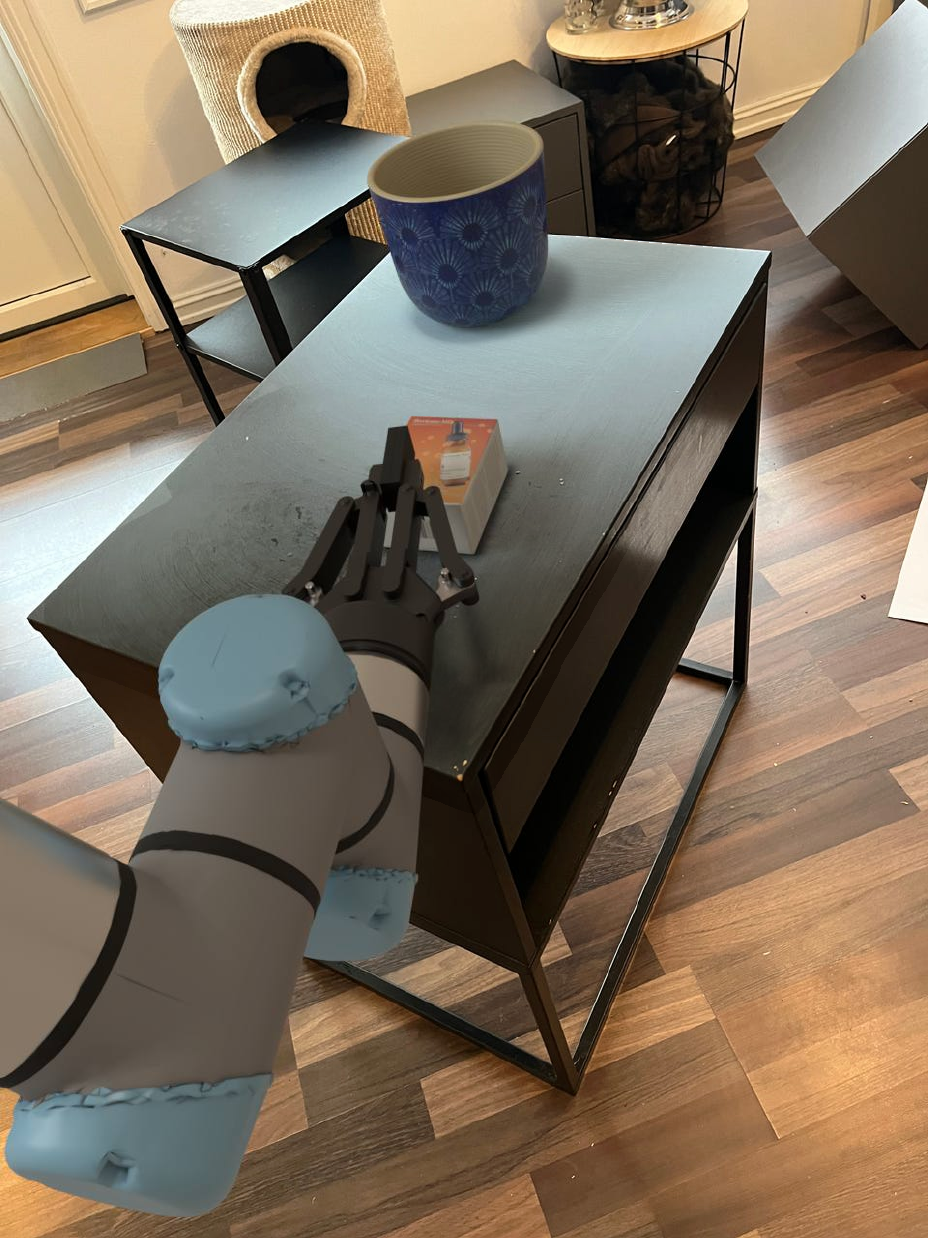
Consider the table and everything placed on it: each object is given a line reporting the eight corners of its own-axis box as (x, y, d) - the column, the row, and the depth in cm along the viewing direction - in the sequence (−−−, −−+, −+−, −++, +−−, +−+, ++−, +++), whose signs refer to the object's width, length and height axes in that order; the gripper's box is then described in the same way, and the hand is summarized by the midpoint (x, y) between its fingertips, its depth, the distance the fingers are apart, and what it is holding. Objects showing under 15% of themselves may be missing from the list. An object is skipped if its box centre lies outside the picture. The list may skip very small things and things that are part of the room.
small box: (364, 498, 71) (408, 413, 78) (383, 549, 76) (422, 465, 82) (462, 503, 69) (499, 416, 75) (476, 556, 73) (509, 469, 79)
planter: (442, 369, 92) (407, 219, 80) (379, 302, 103) (341, 162, 92) (591, 305, 94) (577, 151, 83) (514, 247, 106) (492, 104, 94)
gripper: (282, 731, 59) (333, 488, 74) (486, 716, 56) (494, 469, 72) (240, 656, 53) (305, 411, 69) (463, 637, 51) (477, 388, 67)
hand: (401, 441), depth 70 cm, fingers closed
